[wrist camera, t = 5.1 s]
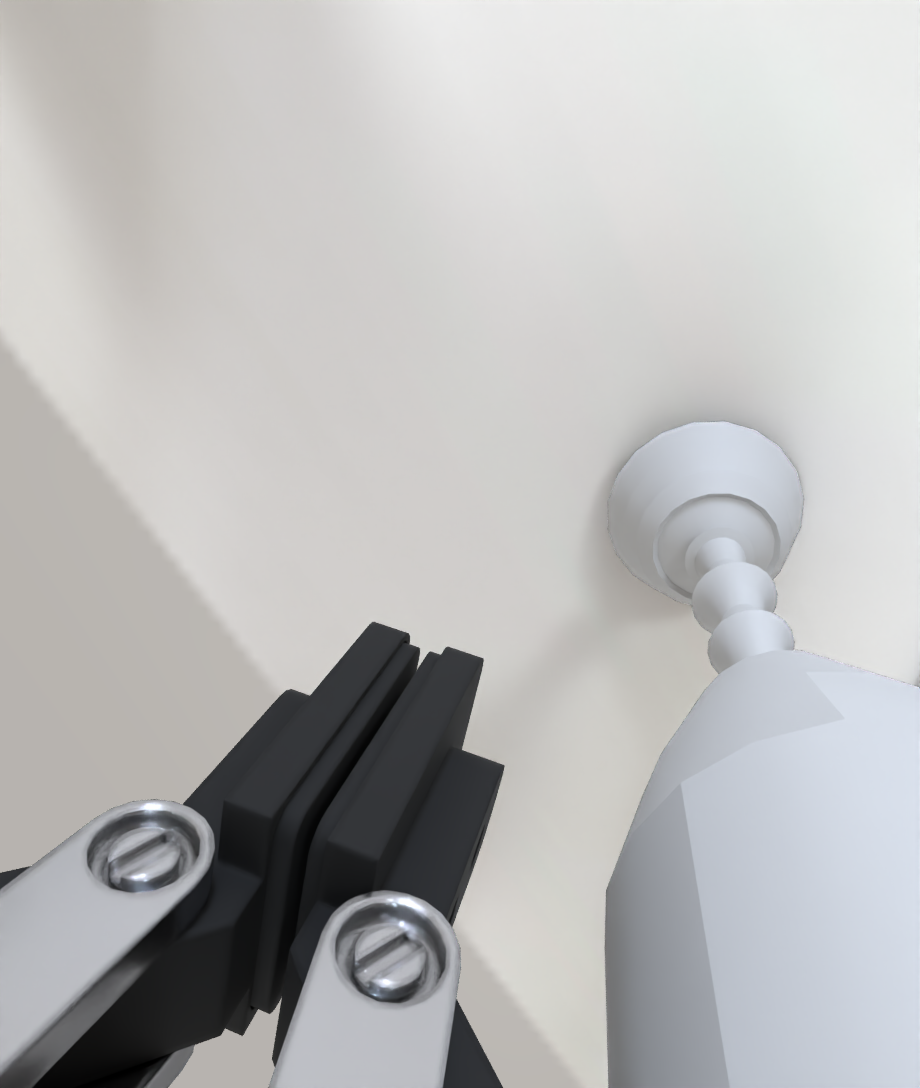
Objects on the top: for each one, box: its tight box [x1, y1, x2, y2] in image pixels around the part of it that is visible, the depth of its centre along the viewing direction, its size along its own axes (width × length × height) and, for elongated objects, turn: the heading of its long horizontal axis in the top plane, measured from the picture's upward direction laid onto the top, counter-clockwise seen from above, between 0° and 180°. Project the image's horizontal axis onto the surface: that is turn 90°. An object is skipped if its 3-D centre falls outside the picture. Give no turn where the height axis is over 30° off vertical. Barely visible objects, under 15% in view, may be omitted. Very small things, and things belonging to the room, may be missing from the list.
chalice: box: [605, 421, 920, 1088], centre depth 13 cm, size 7×7×18 cm
